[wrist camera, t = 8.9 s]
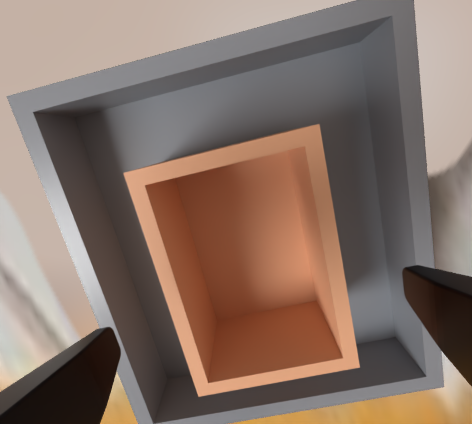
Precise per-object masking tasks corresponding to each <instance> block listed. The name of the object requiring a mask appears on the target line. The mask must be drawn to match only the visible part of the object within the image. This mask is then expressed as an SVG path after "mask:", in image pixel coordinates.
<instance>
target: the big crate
mask: <svg viewBox="0 0 472 424" xmlns="http://www.w3.org/2000/svg"><path fill="white" fill-rule="evenodd" d="M7 99H8V101H9V104H10V106H11V108H12V111H13V114H14V116H15V118H16V121H17V124H18V126H19V128H20V131H21V133H22V136H23V139H24V141H25V143H26V146H27V148H28V151H29V153H30V156H31V158H32V160H33V163H34V166H35V168H36V171H37V173H38V176H39V178H40V181H41V183H42V186H43V188H44V191H45V193H46V195H47V198H48V201H49V203H50V205H51V208H52V211H53V213H54V216H55V218H56V221H57V223H58V226H59V228H60V231H61V233H62V235H63V238H64V240H65V243H66V245H67V247H68V250H69V253H70V255H71V258H72V260H73V263H74V265H75V268H76V270H77V273H78V275H79V278H80V280H81V283H82V285H83V288H84V290H85V293H86V295H87V298H88V300H89V302H90V305H91V308H92V310H93V313H94V315H95V317H96V320H97V323H98V325H99V328H104V327H111V328H112V329H113V330H114V333H115V335H116V338H117V340H118V343H119V346H120V349H121V357H120V361H119V364H118V368H117V372H118V375H119V377H120V380H121V382H122V385H123V387H124V390H125V392H126V395H127V397H128V400H129V402H130V405H131V407H132V410H133V412H134V415H135V417H136V420H137V422H138V424H228V423H234V422H240V421H246V420H251V419H257V418H263V417H269V416H275V415H281V414H287V413H293V412H299V411H305V410H311V409H317V408H323V407H329V406H334V405H340V404H346V403H352V402H358V401H364V400H370V399H376V398H382V397H388V396H394V395H400V394H406V393H412V392H417V391H423V390H429V389H435V388H441V387H444V379H443V366H442V353H441V349H440V348H439V347H438V345H437V344H436V343H435V341H434V340H433V339H432V337H431V336H430V334H429V333H428V331H427V330H426V328H425V327H424V325H423V324H422V322H421V321H420V319H419V318H418V316H417V315H416V314H415V312H414V311H413V309H412V308H411V306H410V305H409V303H408V302H407V300H406V298H405V295H404V287H403V278H402V270H403V268H405V267H409V266H414V265H421V266H425V267H430V268H434V269H435V265H434V252H433V239H432V226H431V214H430V201H429V188H428V176H427V163H426V151H425V139H424V138H425V137H424V125H423V112H422V99H421V87H420V74H419V61H418V49H417V37H416V24H415V10H414V0H356V1H352V2H348V3H345V4H341V5H337V6H334V7H330V8H327V9H323V10H319V11H316V12H312V13H309V14H305V15H302V16H297V17H294V18H290V19H287V20H283V21H279V22H276V23H272V24H268V25H265V26H261V27H257V28H254V29H251V30H247V31H243V32H239V33H236V34H232V35H229V36H225V37H221V38H217V39H214V40H210V41H206V42H203V43H199V44H195V45H192V46H188V47H185V48H181V49H177V50H174V51H171V52H167V53H163V54H159V55H155V56H152V57H148V58H145V59H141V60H137V61H134V62H130V63H127V64H123V65H119V66H116V67H112V68H108V69H104V70H101V71H98V72H94V73H90V74H86V75H83V76H79V77H75V78H72V79H68V80H65V81H61V82H57V83H53V84H50V85H46V86H43V87H39V88H35V89H32V90H28V91H24V92H21V93H17V94H13V95H10V96H7ZM317 124H319V125H320V131H321V137H322V143H323V149H324V155H325V161H326V167H327V173H328V179H329V185H330V191H331V197H332V203H333V209H334V215H335V221H336V227H337V233H338V239H339V245H340V251H341V257H342V263H343V269H344V275H345V281H346V287H347V293H348V299H349V305H350V311H351V317H352V323H353V329H354V335H355V341H356V347H357V353H358V359H359V365H360V368H354V369H349V370H343V371H338V372H332V373H327V374H321V375H316V376H310V377H305V378H299V379H294V380H288V381H283V382H277V383H272V384H266V385H261V386H255V387H250V388H244V389H238V390H233V391H227V392H222V393H216V394H211V395H205V396H200V397H198V394H197V391H196V388H195V385H194V382H193V379H192V376H191V373H190V370H189V367H188V364H187V361H186V358H185V355H184V352H183V349H182V346H181V343H180V340H179V337H178V334H177V331H176V328H175V325H174V322H173V319H172V316H171V313H170V310H169V307H168V304H167V302H166V299H165V296H164V293H163V290H162V287H161V284H160V281H159V278H158V275H157V272H156V269H155V266H154V263H153V260H152V257H151V254H150V251H149V248H148V245H147V242H146V239H145V236H144V233H143V230H142V227H141V224H140V221H139V218H138V215H137V212H136V209H135V206H134V203H133V200H132V197H131V194H130V191H129V188H128V185H127V182H126V180H125V177H124V174H123V173H125V172H128V171H132V170H136V169H139V168H143V167H146V166H150V165H153V164H157V163H160V162H164V161H168V160H172V159H176V158H180V157H184V156H188V155H192V154H196V153H200V152H204V151H208V150H212V149H216V148H220V147H224V146H228V145H232V144H236V143H240V142H244V141H248V140H252V139H256V138H260V137H264V136H268V135H272V134H276V133H280V132H284V131H288V130H292V129H297V128H302V127H307V126H312V125H317Z"/></svg>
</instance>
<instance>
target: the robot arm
mask: <svg viewBox="0 0 472 424" xmlns="http://www.w3.org/2000/svg"><path fill="white" fill-rule="evenodd" d="M402 278H403V287H404V295H405V298H406V300H407V302H408V303H409V305H410V306H411V308H412V309H413V311H414V312H415V314H416V315H417V316H418V318H419V319H420V321H421V322H422V324H423V325H424V327H425V328H426V330H427V331H428V333H429V334H430V336H431V337H432V339H433V340H434V341H435V343H436V344H437V345H438V347H439V348H440V349H441V351H442V352H443V353H444V354H445V355H446V357H447V358H448V359H449V360H450V361H451V363H452V364H453V365H454V366H455V367H456V369H457V370H458V371H459V372H460V373H461V374H462V376H463V377H464V378H465V379H466V380H467V382H468V383H469V384H470V385H471V386H472V277H470V276H465V275H461V274H456V273H452V272H447V271H443V270H438V269H434V268H430V267H425V266H421V265H414V266H409V267H405V268H403V270H402ZM120 357H121V349H120V346H119V343H118V340H117V338H116V335H115V333H114V330H113V329H112V328H111V327H104V328H99V329H97V330H95V331H93V332H92V333H91V334H89V335H87V336H86V337H84V338H83V339H81V340H80V341H78V342H77V343H75V344H73V345H72V346H70V347H69V348H67V349H66V350H64V351H63V352H61V353H60V354H58V355H57V356H55V357H53V358H52V359H50V360H49V361H47V362H46V363H44V364H43V365H41V366H40V367H38V368H37V369H35V370H33V371H32V372H30V373H29V374H27V375H26V376H24V377H23V378H21V379H20V380H18V381H17V382H15V383H13V384H12V385H10V386H9V387H7V388H6V389H4V390H3V391H1V392H0V424H100V422H101V420H102V417H103V414H104V411H105V409H106V406H107V403H108V399H109V396H110V393H111V389H112V385H113V382H114V378H115V375H116V371H117V368H118V364H119V361H120Z"/></svg>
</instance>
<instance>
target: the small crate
mask: <svg viewBox="0 0 472 424" xmlns="http://www.w3.org/2000/svg"><path fill="white" fill-rule="evenodd" d="M123 174H124V177H125V180H126V182H127V185H128V188H129V191H130V194H131V197H132V200H133V203H134V206H135V209H136V212H137V215H138V218H139V221H140V224H141V227H142V230H143V233H144V236H145V239H146V242H147V245H148V248H149V251H150V254H151V257H152V260H153V263H154V266H155V269H156V272H157V275H158V278H159V281H160V284H161V287H162V290H163V293H164V296H165V299H166V302H167V304H168V307H169V310H170V313H171V316H172V319H173V322H174V325H175V328H176V331H177V334H178V337H179V340H180V343H181V346H182V349H183V352H184V355H185V358H186V361H187V364H188V367H189V370H190V373H191V376H192V379H193V382H194V385H195V388H196V391H197V394H198V397H200V396H205V395H211V394H216V393H222V392H227V391H233V390H238V389H244V388H250V387H255V386H261V385H266V384H272V383H277V382H283V381H288V380H294V379H299V378H305V377H310V376H316V375H321V374H327V373H332V372H338V371H343V370H349V369H354V368H360V365H359V359H358V353H357V347H356V341H355V335H354V329H353V323H352V317H351V311H350V305H349V299H348V293H347V287H346V281H345V275H344V269H343V263H342V257H341V251H340V245H339V239H338V233H337V227H336V221H335V215H334V209H333V203H332V197H331V191H330V185H329V179H328V173H327V167H326V161H325V155H324V149H323V143H322V137H321V131H320V125H319V124H317V125H312V126H307V127H302V128H297V129H292V130H288V131H284V132H280V133H276V134H272V135H268V136H264V137H260V138H256V139H252V140H248V141H244V142H240V143H236V144H232V145H228V146H224V147H220V148H216V149H212V150H208V151H204V152H200V153H196V154H192V155H188V156H184V157H180V158H176V159H172V160H168V161H164V162H160V163H157V164H153V165H150V166H146V167H143V168H139V169H136V170H132V171H128V172H125V173H123Z"/></svg>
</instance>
